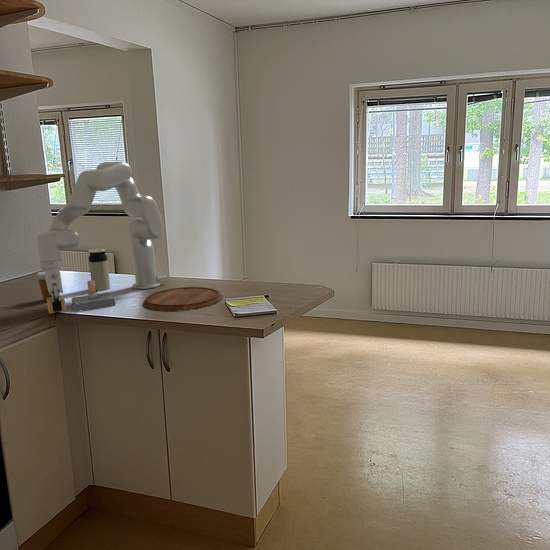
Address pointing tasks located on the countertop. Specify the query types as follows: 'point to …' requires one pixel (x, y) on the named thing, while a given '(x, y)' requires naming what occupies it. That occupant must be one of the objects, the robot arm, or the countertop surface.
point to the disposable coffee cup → (43, 285)
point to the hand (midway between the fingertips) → (56, 308)
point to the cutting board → (182, 298)
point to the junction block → (93, 299)
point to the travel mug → (99, 269)
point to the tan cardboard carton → (50, 307)
